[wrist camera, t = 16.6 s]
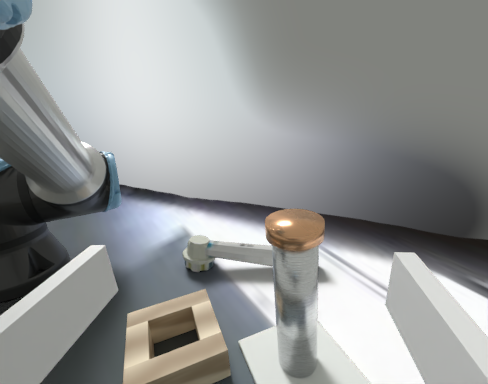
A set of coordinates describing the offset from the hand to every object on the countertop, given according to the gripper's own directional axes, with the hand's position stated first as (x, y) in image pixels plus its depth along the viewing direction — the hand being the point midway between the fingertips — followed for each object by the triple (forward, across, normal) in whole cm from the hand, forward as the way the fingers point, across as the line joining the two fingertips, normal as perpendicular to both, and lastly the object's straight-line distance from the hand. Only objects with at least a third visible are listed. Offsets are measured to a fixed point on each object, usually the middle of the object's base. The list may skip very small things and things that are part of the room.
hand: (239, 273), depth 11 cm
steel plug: (+12, +4, -21) cm, 25 cm away
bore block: (+12, -11, -22) cm, 27 cm away
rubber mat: (+11, +4, -22) cm, 25 cm away
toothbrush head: (+30, -4, -23) cm, 38 cm away
